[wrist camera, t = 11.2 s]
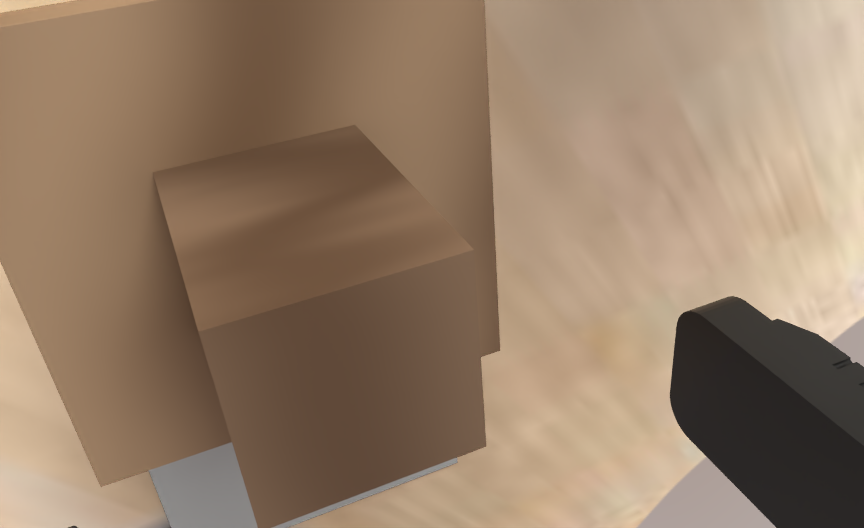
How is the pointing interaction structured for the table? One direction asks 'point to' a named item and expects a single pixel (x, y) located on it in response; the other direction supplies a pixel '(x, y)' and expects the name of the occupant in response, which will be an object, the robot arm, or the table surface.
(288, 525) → the mat
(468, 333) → the lid
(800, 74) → the table surface
